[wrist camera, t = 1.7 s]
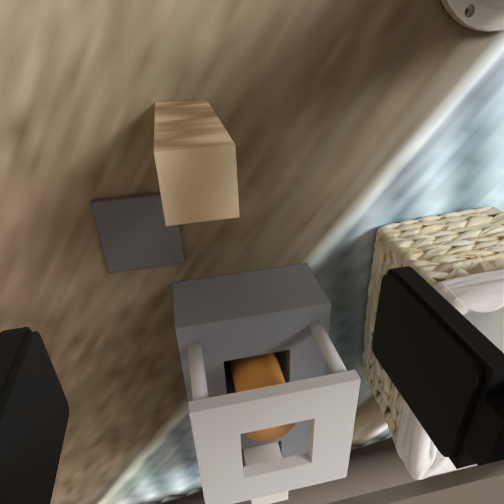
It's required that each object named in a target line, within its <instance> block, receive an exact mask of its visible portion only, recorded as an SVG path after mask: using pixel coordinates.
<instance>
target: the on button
mask: <svg viewBox="0 0 504 504" xmlns="http://www.w3.org/2000/svg"><path fill="white" fill-rule="evenodd" d="M242 458H243V464H244V467H245V466H249V465H254V464H258V463H263V462H267V461H272V460H276V459H281V458H282V455H281V451H280V448H279V444H278V442H275V443H270V444H266V445H261V446H256V447H252V448H247V449H242ZM287 499H288V491H285V492H281V493H277V494H273V495H268V496H264V497H260V498H256V499H252V500H251V504H271V503H275V502H279V501H283V500H287Z"/></svg>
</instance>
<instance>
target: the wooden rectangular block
mask: <svg viewBox="0 0 504 504" xmlns="http://www.w3.org/2000/svg"><path fill="white" fill-rule="evenodd" d="M154 157H155V163H156V169H157V175H158V181H159V187H160V193H161V199H162V205H163V211H164V217H165V223H166V226H171V225H179V224H187V223H196V222H204V221H212V220H220V219H228V218H237V217H240V216H239V199H238V181H237V164H236V147H235V143H234V142H233V140H232V138H231V137H230V135H229V134H228V132H227V131H226V129H225V127H224V126H223V124H222V123H221V121H220V120H219V118H218V116H217V115H216V113H215V112H214V110H213V109H212V107H211V105H210V104H209V102H208V101H207V99H206V98H205V99H192V100H178V101H165V102H155V124H154Z"/></svg>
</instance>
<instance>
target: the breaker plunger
mask: <svg viewBox="0 0 504 504" xmlns="http://www.w3.org/2000/svg"><path fill="white" fill-rule="evenodd" d="M229 362H230V367H231V372H232V376H233V381H234V386H235V390H236V392H241V391H247V390H252V389H257V388H262V387H267V386H273V385H278V384H283V383H286V382H285V379H284V377H283V374H282V371H281V368H280V365H279V363H278V360H277V357H276V354H275V352H274V353H268V354H263V355H257V356H251V357H246V358H240V359H235V360H229ZM295 424H296V422H295V423H290V424H286V425H281V426H276V427H271V428H266V429H262V430H257V431H252V432H247V433H245V434H246V435H247V436H248V437H249V438H251V439H253V440H257V441H269V440H274V439H277V438H279V437H282V436H283V435H285V434H287V433H288V432H289V431H290V430H291V429H292V428H293V427H294V426H295Z"/></svg>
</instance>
